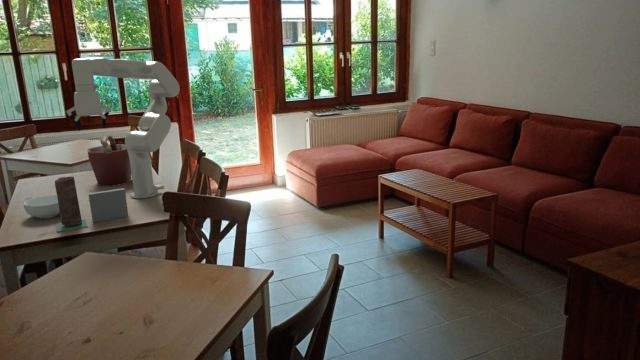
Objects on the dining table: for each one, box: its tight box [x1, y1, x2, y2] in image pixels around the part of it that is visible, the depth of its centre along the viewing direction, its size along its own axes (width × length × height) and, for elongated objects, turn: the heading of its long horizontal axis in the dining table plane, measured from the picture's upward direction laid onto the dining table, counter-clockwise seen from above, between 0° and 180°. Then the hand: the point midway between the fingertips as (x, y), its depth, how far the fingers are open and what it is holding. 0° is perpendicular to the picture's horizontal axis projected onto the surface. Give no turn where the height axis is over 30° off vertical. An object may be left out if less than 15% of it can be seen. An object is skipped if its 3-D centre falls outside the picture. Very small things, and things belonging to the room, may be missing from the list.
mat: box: [55, 218, 89, 233], centre depth 203 cm, size 11×10×1 cm
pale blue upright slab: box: [87, 187, 129, 223], centre depth 209 cm, size 14×2×12 cm, turn 119°
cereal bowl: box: [23, 194, 60, 219], centre depth 216 cm, size 17×17×7 cm
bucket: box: [87, 135, 132, 187], centre depth 266 cm, size 24×22×25 cm
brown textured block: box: [54, 176, 83, 226], centre depth 201 cm, size 8×7×20 cm
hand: (91, 128), depth 214 cm, fingers open, 9 cm apart
